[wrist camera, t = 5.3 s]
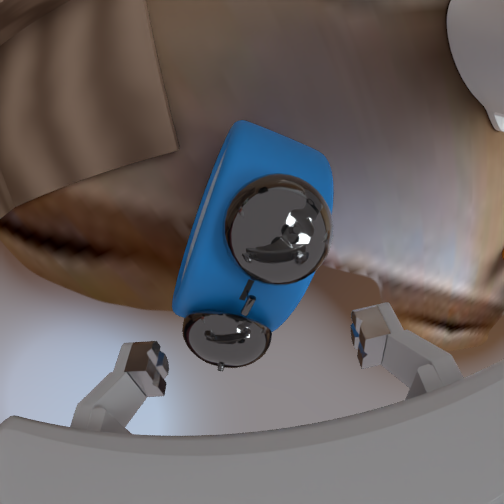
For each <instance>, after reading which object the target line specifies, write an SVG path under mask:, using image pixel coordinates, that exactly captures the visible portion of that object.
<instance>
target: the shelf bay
mask: <svg viewBox="0 0 504 504" xmlns="http://www.w3.org/2000/svg"><path fill="white" fill-rule="evenodd" d="M179 149H180V148H179V144H178V140H177V136H176V132H175V128H174V124H173V120H172V116H171V112H170V108H169V104H168V100H167V95H166V91H165V87H164V83H163V78H162V74H161V69H160V65H159V61H158V56H157V51H156V47H155V42H154V37H153V33H152V28H151V23H150V18H149V13H148V8H147V3H146V0H0V219H1V218H2V217H3V216H5V215H6V214H7V213H8V212H9V211H11V210H12V209H13V208H15V207H16V206H19V205H21V204H23V203H25V202H28V201H30V200H32V199H35V198H37V197H40V196H42V195H44V194H47V193H49V192H52V191H54V190H57V189H59V188H62V187H65V186H67V185H70V184H73V183H75V182H78V181H81V180H84V179H86V178H89V177H92V176H95V175H98V174H101V173H104V172H107V171H110V170H113V169H116V168H119V167H122V166H126V165H129V164H132V163H136V162H139V161H142V160H146V159H149V158H153V157H156V156H160V155H164V154H167V153H171V152H175V151H178V150H179Z"/></svg>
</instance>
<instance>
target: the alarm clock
mask: <svg viewBox="0 0 504 504" xmlns="http://www.w3.org/2000/svg"><path fill="white" fill-rule="evenodd" d="M333 195H334V191H333V176H332V171H331V167H330V164H329V162H328V161H327V159H326V157H325V156H324V155H323V154H322V153H321V152H319V151H318V150H315V149H313V148H311V147H309V146H306V145H304V144H302V143H300V142H297V141H295V140H293V139H290V138H288V137H286V136H283V135H281V134H279V133H276V132H274V131H271V130H269V129H266V128H264V127H261V126H259V125H256V124H254V123H251V122H248V121H245V120H239V121H237V122H235V123H234V124H233V126H232V127H231V129H230V131H229V133H228V135H227V137H226V139H225V141H224V143H223V146H222V148H221V150H220V153H219V155H218V157H217V160H216V162H215V165H214V167H213V170H212V173H211V175H210V178H209V181H208V183H207V186H206V189H205V191H204V194H203V197H202V200H201V203H200V206H199V209H198V211H197V214H196V217H195V220H194V224H193V227H192V230H191V233H190V236H189V239H188V243H187V246H186V249H185V253H184V256H183V260H182V263H181V267H180V270H179V274H178V278H177V282H176V286H175V291H174V295H173V301H172V308H173V311H174V312H175V314H176V315H178V316H181V317H184V322H183V330H182V332H183V337H184V340H185V342H186V344H187V346H188V348H189V349H190V350H191V351H192V352H193V353H194V354H195V355H196V356H197V357H198V358H200V359H201V360H203V361H205V362H206V363H209V364H212V365H216V366H218V371H223V369H224V368H225V367H226V368H237V367H243V366H246V365H249V364H252V363H254V362H255V361H257V360H258V359H260V358H261V357H262V356H263V355H264V354H265V353H266V351H267V349H268V348H269V346H270V342H271V336H272V332H273V331H274V330H276V329H277V328H278V327H279V326H280V325H282V324H283V323H284V322H285V321H286V319H287V318H288V317H289V316H290V315H291V313H292V312H293V311H294V309H295V308H296V307H297V305H298V303H299V302H300V300H301V299H302V297H303V295H304V294H305V292H306V290H307V288H308V286H309V284H310V282H311V280H312V278H313V276H314V273H315V271H316V270H317V269H318V268H319V267H320V266H321V264H322V263H323V261H324V260H325V258H326V257H327V255H328V252H329V250H330V247H331V244H332V239H333V221H332V208H333Z"/></svg>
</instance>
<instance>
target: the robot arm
mask: <svg viewBox="0 0 504 504" xmlns="http://www.w3.org/2000/svg"><path fill="white" fill-rule="evenodd" d="M447 33H448V39H449V44H450V49H451V52H452V55H453V58H454V61H455V64H456V66H457V69H458V71H459V73H460V75H461V77H462V79H463V81H464V82H465V84H466V86H467V87H468V89H469V90H470V91H471V93H472V94H473V95H474V96H475V97H476V99H477V100H478V101H479V102H480V103H481V104H482V105H483V106H484V107H485V109H486V111H487V113H488V116H489V118H490V121H491V123H492V125H493V127H494V128H495V129H496V130H497V131H502V132H504V0H451V2H450V4H449V7H448V13H447ZM351 318H352V321H353V323H352V325H351V339H352V342H353V346H354V348H356V349H357V350H358V353H357V357H358V360H359V363H360V366H361V369H364V368H368V367H373V366H377V365H381V364H382V366H383V367H384V368H385V369H387V370H388V371H389V372H391V374H393V375H394V376H395V377H396V378H398V379H399V380H400V381H401V382H402V383H404V384H405V385H406V386H407V387H409V388H410V390H409V392H408V395H407V397H406V399H405V400H404V401H401V402H398V403H394V404H391V405H388V406H384V407H381V408H377V409H374V410H371V411H366V412H363V413H359V414H355V415H351V416H346V417H342V418H337V419H333V420H328V421H323V422H318V423H313V424H307V425H301V426H295V427H290V428H282V429H276V430H267V431H258V432H249V433H238V434H224V435H202V436H155V435H154V436H153V435H152V436H151V435H134V434H131V433H130V432H129V431H128V430H127V429H126V428H125V427H126V425H127V424H128V422H129V421H130V420H131V418H132V417H133V416H134V414H135V413H136V412H137V410H138V409H139V408H140V406H141V405H142V404H143V402H144V401H145V400H146V398H147V397H154V396H164V395H165V389H166V382H165V380H164V378H165V377H166V376H167V375H168V371H169V365H168V360H167V357H166V355H165V354H164V353H162V352H161V351H160V345H159V344H158V342H157V341H150V342H135V343H124V344H123V345H122V347H121V350H120V353H119V356H118V359H117V362H116V365H115V368H114V371H113V372H111V373H109V374H108V375H107V376H106V377H105V378H104V379H103V380H102V381H101V382H100V383H99V384H98V385H97V386H96V387H95V388H94V389H93V390H92V391H91V392H90V393H89V394H88V395H87V396H86V397H85V398H84V399H83V400H82V401H81V402H80V403H79V404H78V405H77V407H76V410H75V413H74V417H73V420H72V423H71V426H70V427H66V426H60V425H55V424H49V423H45V422H39V421H35V420H31V419H27V418H23V417H19V416H10V417H9V418H7V419H6V420H5V421H3V422H2V423H1V424H0V504H504V359H503V360H501V361H499V362H497V363H495V364H493V365H491V366H489V367H487V368H485V369H482V370H480V371H478V372H476V373H474V374H472V375H469V376H467V377H465V378H464V377H463V376H462V374H461V372H460V370H459V368H458V366H457V365H456V363H455V361H454V359H453V357H452V355H451V354H449V353H447V352H446V351H444V350H442V349H440V348H439V347H437V346H435V345H433V344H432V343H430V342H428V341H426V340H425V339H423V338H421V337H419V336H418V335H416V334H414V333H412V332H411V331H409V330H404V329H403V328H402V326H401V324H400V322H399V320H398V318H397V316H396V315H395V313H394V311H393V309H392V307H391V305H390V304H389V303H388V302H386V303H382V304H378V305H374V306H370V307H366V308H361V309H357V310H353V311H352V313H351Z"/></svg>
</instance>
